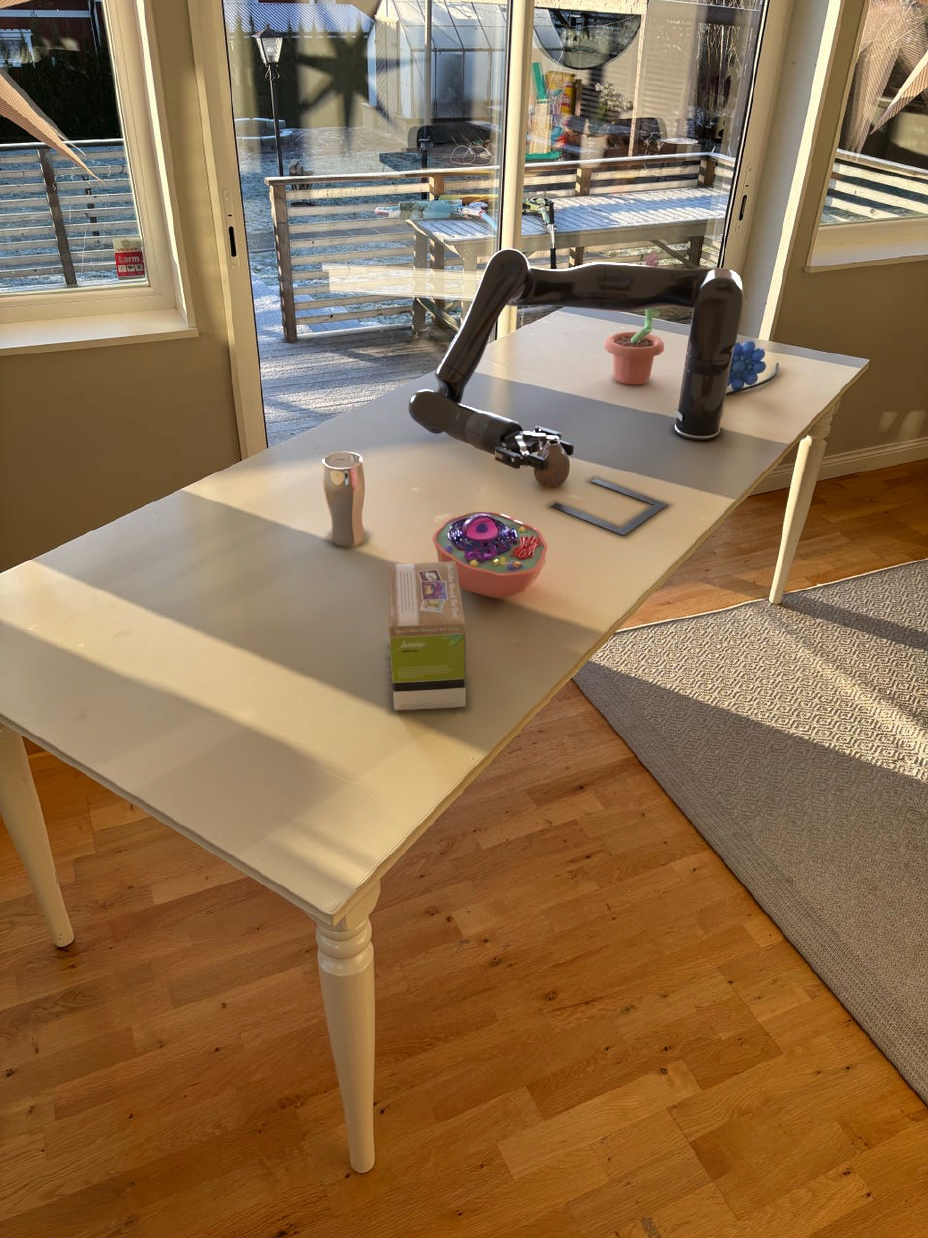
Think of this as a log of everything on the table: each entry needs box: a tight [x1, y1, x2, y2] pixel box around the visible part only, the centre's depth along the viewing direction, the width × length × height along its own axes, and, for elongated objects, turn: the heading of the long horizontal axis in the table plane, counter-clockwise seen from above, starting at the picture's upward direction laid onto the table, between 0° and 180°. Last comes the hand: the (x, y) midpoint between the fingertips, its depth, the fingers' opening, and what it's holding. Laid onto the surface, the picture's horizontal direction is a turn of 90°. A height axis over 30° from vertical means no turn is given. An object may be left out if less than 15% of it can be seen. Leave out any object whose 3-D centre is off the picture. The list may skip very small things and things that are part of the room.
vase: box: [533, 439, 571, 489], centre depth 177 cm, size 7×7×9 cm
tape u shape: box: [550, 477, 669, 537], centre depth 172 cm, size 15×16×1 cm
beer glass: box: [322, 451, 366, 548], centre depth 158 cm, size 7×7×15 cm
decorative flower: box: [604, 249, 665, 385], centre depth 215 cm, size 15×14×30 cm
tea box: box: [387, 561, 466, 712], centre depth 127 cm, size 15×10×15 cm, turn 5°
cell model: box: [432, 511, 548, 600], centre depth 147 cm, size 17×20×11 cm
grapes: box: [727, 340, 767, 391], centre depth 215 cm, size 12×7×12 cm, turn 65°
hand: (559, 457), depth 175 cm, fingers open, 8 cm apart
